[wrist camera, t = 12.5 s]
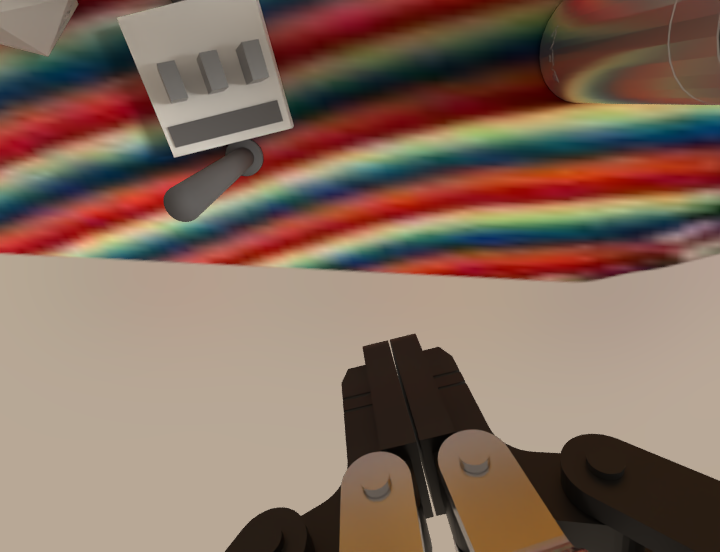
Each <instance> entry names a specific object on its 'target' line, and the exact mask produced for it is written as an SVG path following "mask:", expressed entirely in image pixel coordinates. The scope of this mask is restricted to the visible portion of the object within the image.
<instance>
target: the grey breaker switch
mask: <svg viewBox="0 0 720 552" xmlns="http://www.w3.org/2000/svg"><path fill="white" fill-rule="evenodd" d="M236 53H237V56H238V60H239V63H240V66H241V69H242V72H243V75H244V79H245V82H246V85H249V84H254V83H258V82H262V81H263V80H265V79H267V78H268V77H269V73H268V70H267V67H266V63H265V60H264V56H263V53H262V49H261V46H260V42H259V39H255V40H250V41H245V42H241V44H240V45H239V46H238V47H237V49H236Z"/></svg>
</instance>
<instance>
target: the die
mask: <svg viewBox="0 0 720 552" xmlns="http://www.w3.org/2000/svg"><path fill="white" fill-rule="evenodd" d="M77 6H78V1H77V0H0V44H1V45H5V46H9V47H13V48H17V49H20V50H24V51H28V52H32V53H36V54H40V55H44V56H49V55H50V53H51V51H52V50H53V48H54V46H55V44H56V43H57V41H58V39H59V37H60V36H61V34H62V32H63V30H64V29H65V27H66V25H67V23H68V22H69V20H70V18H71V16H72V15H73V13H74V11H75V10H76V8H77Z"/></svg>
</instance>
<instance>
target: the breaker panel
mask: <svg viewBox="0 0 720 552" xmlns="http://www.w3.org/2000/svg"><path fill="white" fill-rule="evenodd" d="M117 21H118V23H119V25H120V28H121V30H122V33H123V35H124V38H125V40H126V42H127V45H128V47H129V50H130V52H131V54H132V57H133V59H134V62H135V64H136V67H137V69H138V71H139V74H140V76H141V79H142V81H143V83H144V86H145V88H146V91H147V93H148V96H149V98H150V100H151V103H152V105H153V108H154V110H155V112H156V115H157V117H158V120H159V122H160V125H161V127H162V129H163V132H164V134H165V137H166V139H167V141H168V144H169V146H170V149H171V151H172V153H173V156H174V158H175V157H179V156H183V155H187V154H191V153H195V152H199V151H203V150H207V149H211V148H215V147H219V146H223V145H227V144H231V143H235V142H239V141H243V140H247V139H251V138H255V137H259V136H263V135H267V134H271V133H275V132H279V131H283V130H287V129H291V128H293V127H294V125H293V121H292V117H291V114H290V110H289V107H288V103H287V99H286V96H285V92H284V89H283V85H282V82H281V78H280V74H279V71H278V67H277V64H276V60H275V57H274V53H273V49H272V46H271V42H270V39H269V35H268V31H267V28H266V24H265V21H264V17H263V14H262V10H261V6H260V3H259V0H184V1H180V2H176V3H172V4H168V5H164V6H160V7H156V8H152V9H148V10H145V11H141V12H137V13H133V14H129V15H125V16H121V17H117ZM255 39H259V42H260V46H261V49H262V53H263V56H264V60H265V63H266V67H267V70H268V73H269V77H268V78H267V79H265V80H263V81H262V82H258V83H254V84H249V85H246V82H245V79H244V75H243V72H242V69H241V66H240V63H239V60H238V56H237V53H236V49H237V47H238V46H239V45H240V44H241V42H245V41H250V40H255ZM211 50H217V53H218V56H219V59H220V62H221V65H222V68H223V71H224V74H225V77H226V80H227V83H228V86H229V87H228V88H227V89H226V90H225V91H222V92H218V93H213V94H208V91H207V88H206V86H205V83H204V80H203V77H202V74H201V71H200V69H199V66H198V63H197V57H198V54H199V53H201V52H206V51H211ZM172 60H175V63H176V65H177V68H178V71H179V73H180V76H181V79H182V81H183V84H184V87H185V89H186V92H187V95H188V99H187V101H182V102H178V103H173V104H171V103H170V100H169V98H168V95H167V93H166V90H165V88H164V85H163V83H162V80H161V78H160V75H159V73H158V70H157V63H162V62H167V61H172Z"/></svg>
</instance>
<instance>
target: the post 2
mask: <svg viewBox="0 0 720 552" xmlns="http://www.w3.org/2000/svg"><path fill="white" fill-rule="evenodd" d="M262 164H263V153H262V150H261V148H260V147H259V145H258V144H257V143H256V142H254V141H253V140H250V139H247V140H243V141H239V142H235V143H231V144H229V145H228V147H227V149H226V153H225V156H224V157H223V158H221V159H219V160H218V161H216V162H214V163H213V164H211V165H209V166H207V167H206V168H204V169H202V170H201V171H199V172H197V173H196V174H194V175H192V176H190V177H189V178H187V179H185V180H184V181H182V182H180V183H179V184H177V185H175V186H174V187H172V188H170V189H169V190H168V191H167V192H166V194H165V196H164V206H165V209H166V211H167V212H168V213H169V215H170V216H172V217H173V218H174V219H176V220H179V221H183V222H189V221H192V220H194V219H196V218H197V217H198V216H199V215H200V214H201V213H202V212H203V211H205V210H206V209H207V208H208V207H209V206H210V205H211V204H212V203H213V202H214V201H215V200H216V199H217V198H218V197H219V196H220V195H221V194H222V193H223V192H224V191H225V190H226V189H228V188H229V187H230V186H231V185H232V184H233V183H234V182H235V181H236V180H237V179H238V178H239V177H240V176H250V175H253V174H255V173H256V172H257V171H258V170H259V169H260V168H261V166H262Z"/></svg>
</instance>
